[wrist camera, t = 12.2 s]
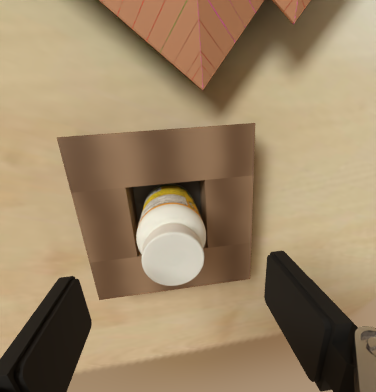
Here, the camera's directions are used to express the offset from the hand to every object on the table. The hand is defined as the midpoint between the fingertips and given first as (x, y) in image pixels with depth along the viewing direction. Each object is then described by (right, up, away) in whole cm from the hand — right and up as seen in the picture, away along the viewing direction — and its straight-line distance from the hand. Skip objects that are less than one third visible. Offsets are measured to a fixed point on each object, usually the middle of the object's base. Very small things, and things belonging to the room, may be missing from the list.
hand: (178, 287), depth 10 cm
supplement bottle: (-2, +3, +12) cm, 12 cm away
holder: (-2, +3, +12) cm, 13 cm away
